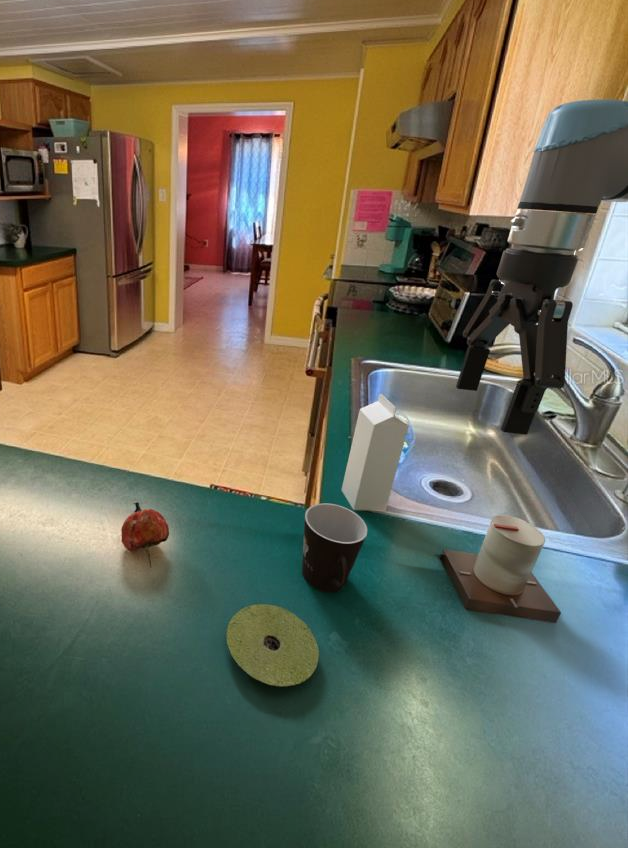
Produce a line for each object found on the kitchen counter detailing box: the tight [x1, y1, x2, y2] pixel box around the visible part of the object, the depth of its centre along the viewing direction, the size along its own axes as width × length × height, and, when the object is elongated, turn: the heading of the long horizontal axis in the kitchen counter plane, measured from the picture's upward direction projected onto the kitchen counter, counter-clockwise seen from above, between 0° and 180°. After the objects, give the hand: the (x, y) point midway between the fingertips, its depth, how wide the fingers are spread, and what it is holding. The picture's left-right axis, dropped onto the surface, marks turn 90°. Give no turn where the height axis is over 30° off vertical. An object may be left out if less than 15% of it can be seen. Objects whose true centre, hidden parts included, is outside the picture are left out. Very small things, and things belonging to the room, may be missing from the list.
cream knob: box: [473, 514, 546, 595], centre depth 68 cm, size 6×6×9 cm
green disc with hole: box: [226, 603, 320, 687], centre depth 58 cm, size 11×11×2 cm
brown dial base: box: [439, 548, 562, 624], centre depth 70 cm, size 12×11×2 cm
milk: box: [341, 393, 410, 512], centre depth 83 cm, size 6×6×22 cm
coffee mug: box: [301, 502, 368, 593], centre depth 68 cm, size 12×9×10 cm
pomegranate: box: [120, 501, 170, 568], centre depth 73 cm, size 7×7×10 cm
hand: (487, 408), depth 64 cm, fingers open, 13 cm apart
